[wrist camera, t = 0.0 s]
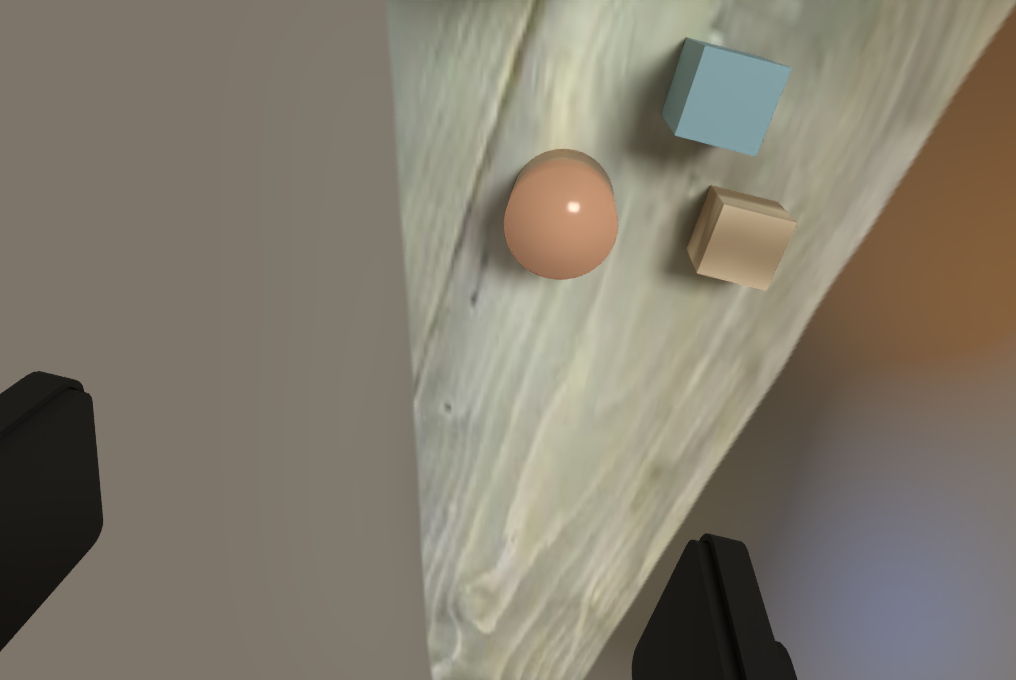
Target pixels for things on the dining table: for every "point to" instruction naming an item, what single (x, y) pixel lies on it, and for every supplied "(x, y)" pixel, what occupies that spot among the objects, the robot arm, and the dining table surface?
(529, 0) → the dining table surface
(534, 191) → the peach cylinder
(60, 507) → the robot arm
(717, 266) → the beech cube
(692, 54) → the teal block
